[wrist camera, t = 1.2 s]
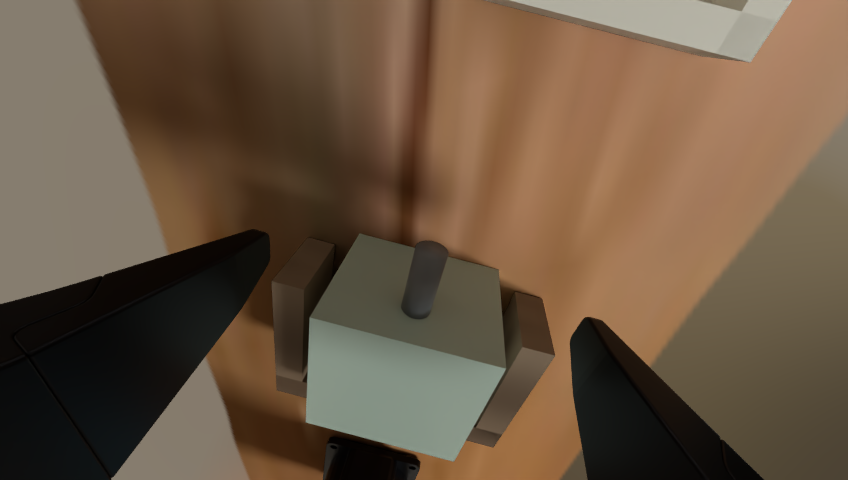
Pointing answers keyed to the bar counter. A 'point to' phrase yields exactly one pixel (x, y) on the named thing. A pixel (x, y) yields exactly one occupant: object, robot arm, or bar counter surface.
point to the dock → (310, 279)
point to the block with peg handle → (405, 346)
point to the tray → (672, 22)
